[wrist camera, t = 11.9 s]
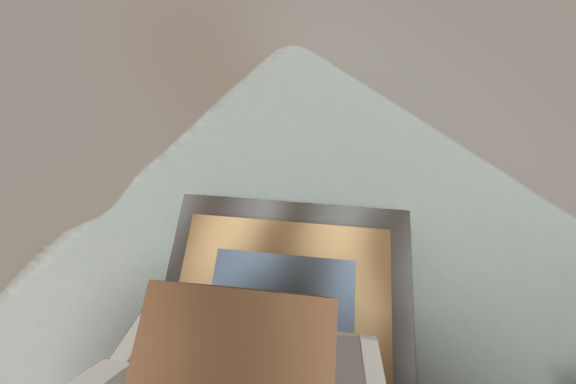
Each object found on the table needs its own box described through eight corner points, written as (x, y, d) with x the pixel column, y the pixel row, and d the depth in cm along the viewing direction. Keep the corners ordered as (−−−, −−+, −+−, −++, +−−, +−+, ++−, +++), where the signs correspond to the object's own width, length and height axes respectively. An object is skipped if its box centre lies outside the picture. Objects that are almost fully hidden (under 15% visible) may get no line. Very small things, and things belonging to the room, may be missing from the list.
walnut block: (318, 295, 13) (338, 299, 6) (312, 396, 12) (328, 566, 5) (233, 286, 14) (148, 279, 6) (219, 384, 13) (90, 524, 5)
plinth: (400, 217, 22) (424, 198, 17) (408, 488, 17) (445, 558, 12) (194, 201, 23) (168, 180, 19) (143, 447, 18) (90, 498, 14)
